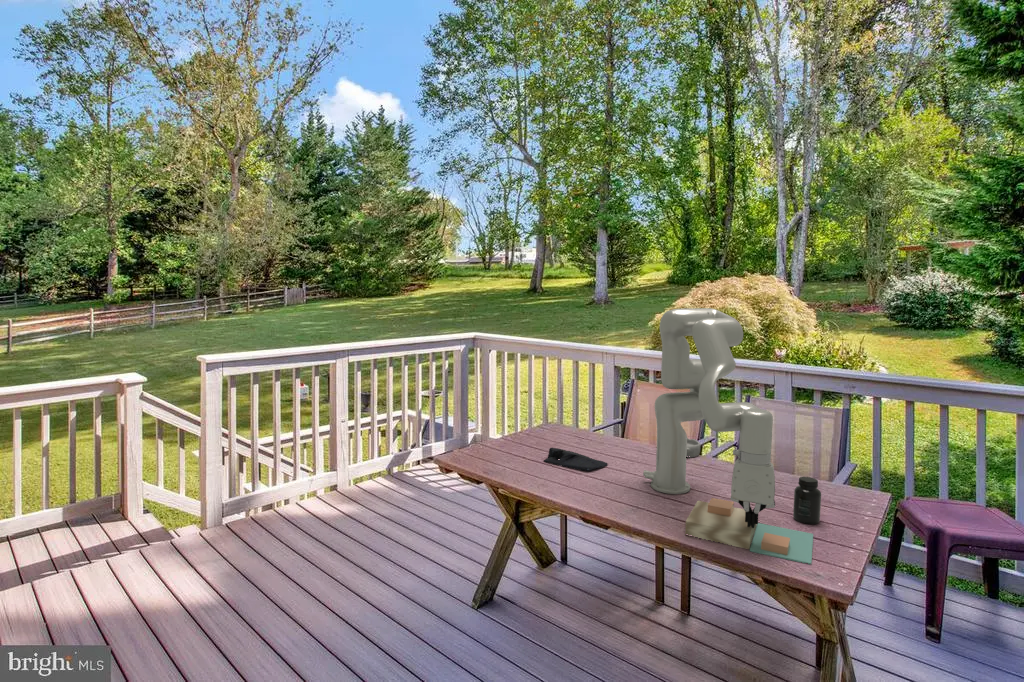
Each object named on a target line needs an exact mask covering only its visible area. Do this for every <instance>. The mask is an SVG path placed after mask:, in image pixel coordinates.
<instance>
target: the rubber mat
mask: <svg viewBox="0 0 1024 682" xmlns="http://www.w3.org/2000/svg"><path fill="white" fill-rule="evenodd" d="M764 533H769V534H774V535H779V536H783V537H788V538H790V546H789V550H788V554H787V555H784V554H780V553H776V552H771V551H767V550H763V549H761V542H762V539H763V536H764ZM813 542H814V533H810V532H807V531H800V530H796V529H792V528H791V529H790V528H786V527H781V526H776V525H770V524H766V523H761V522H758V524H756V528H755V532H754V535H753V539H752V542H751V545H750V549H749V552H752V553H756V554H760V555H765V556H770V557H775V558H779V559H783V560H788V561H793V562H797V563H801V562H802V564H805V563H808V564H807V565H810V564H811V565H812V560H813V559H812V557H813V547H814V546H813V545H814V544H813Z"/></svg>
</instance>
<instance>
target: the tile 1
mask: <svg viewBox="0 0 1024 682" xmlns="http://www.w3.org/2000/svg"><path fill="white" fill-rule="evenodd" d="M708 503H709V504H708V512H710V513H715V514H720V515H725V516H731V514H732V511H733V509H734V507H735V506H734V505H735V502H734V501H732V500H725V499H720V498H714V497H711V498H710V500H709V501H708Z"/></svg>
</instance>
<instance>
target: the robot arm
mask: <svg viewBox="0 0 1024 682" xmlns="http://www.w3.org/2000/svg"><path fill="white" fill-rule="evenodd" d="M659 334H660V340H661V346H662V347H661V349H662V350H661V367H660V368H661V370H660V371H661V372H660V381H661V384H662V386H663V387H664V388H666V389H669V390H689V391H683V392H682V391H681V392H679V391H678V392H677V391H676V392H666V393H663V394H660V395H659V396H657V398H656V399H655V402H654V412H655V420H656V453H655V455H656V456H655V457H656V459H655V470H653V471H650V470H643V477H644V478H645V479H650V480H651V481H650V486H651V488H652V490H655V491H657V492H659V493H664V494H669V495H682V494H686V493H688V492H690V491H691V484H690V483H689V482H687V478H686V477H687V458H688V457H687V438H688V435H687V433H686V430H685V428H683V426H682V423H685V422H696V421H702V420H704V421H705V423H706V425H707V426H708V428H709V429H710V430H711V431H714V432H717V433H725V432H727V433H728V432H739V442H738V443H739V444H738V445H739V448H738V449H733V450H732V456H733V455H734V456H736V457H738V458H736V459H735V461H734V464H733V470H732V477H731V486H730V487H731V488H730V499H729V500H730V501H732V502H734V503H737V504H739V505H740V506H741V508H742V509H744V511H745V522H748V523H747V527H752V528H754V527H755V524H756V525H757V524H758V523H759V513H760V512H762V511H763V510H764V509H775V507H776V501H775V494H776V476H775V475H776V473H775V468H774V464H773V463H772V462H771V460H772V439H773V425H774V424H773V423H774V422H773V421H774V419H773V418H774V417H773V414H772V412H771V411H769V410H766V409H762V408H760V407H758V406H756V405H755V404H753V403H752V402H746V401H740V402H739V401H738V402H719V401H718V397H717V394H716V390H715V386H716V383H717V381H718V380H720V379H722V378H724V377H726V376H728V375H729V374H731V373H733V371H734V370H735V369H736V361H735V359H734V356H733V353H732V350H731V347H737V346H738V345H740V344H741V343H742V342H743V340H744V339H743V338H744V331H743V327H742V324H741V323H740V322H739V321H738V320H737V319H736V318H735V317H733V316H731V315H729V314H727V313H724V312H723V311H720V310H718V309H715V308H711V307H709V308H707V307H705V308H704V307H703V308H702V307H701V308H698V307H697V308H694V307H693V308H689V307H688V308H687V307H686V308H685V307H684V308H673V309H670V310H666V312H664V313H663V314H662V316H661V318H660V321H659ZM686 336H687V337H688V336H689V337H691V336H692V339H693V343H694V344H695V348H696V350H697V354H698V357H699V358H690V352H691V346H690V343H689V341H688V339H686V338H687V337H686ZM686 457H687V458H686ZM751 503H752V504H754V507H753V509H752V507H751Z"/></svg>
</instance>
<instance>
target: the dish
mask: <svg viewBox="0 0 1024 682" xmlns="http://www.w3.org/2000/svg"><path fill="white" fill-rule="evenodd" d="M700 453H701V443H700V442H699V441H698V440H696V439H694V438H691V439H690V438H689V437H687V456H688V457H687V458H694V457H698V456H699V455H700ZM689 456H690V457H689Z"/></svg>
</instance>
